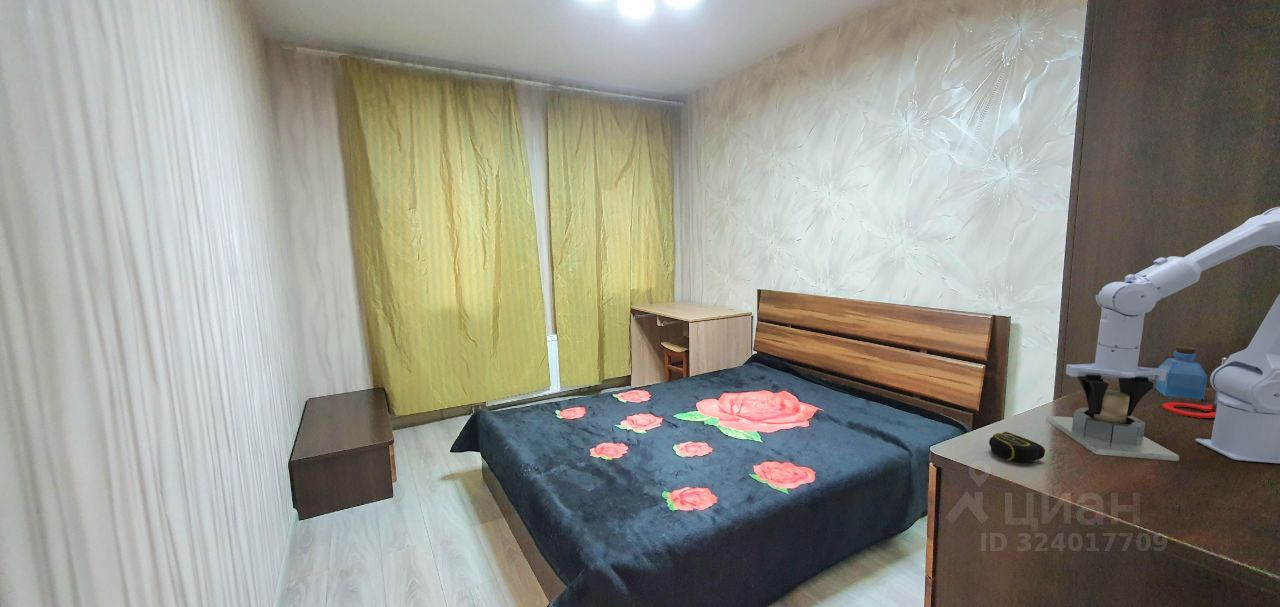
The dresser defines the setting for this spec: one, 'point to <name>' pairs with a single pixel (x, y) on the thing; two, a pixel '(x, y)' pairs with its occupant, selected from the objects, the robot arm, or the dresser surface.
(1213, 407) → the tow hook
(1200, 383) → the perfume bottle
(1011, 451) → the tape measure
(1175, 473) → the dresser surface
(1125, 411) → the tan peg
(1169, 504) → the dresser surface
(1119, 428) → the rosette socket
